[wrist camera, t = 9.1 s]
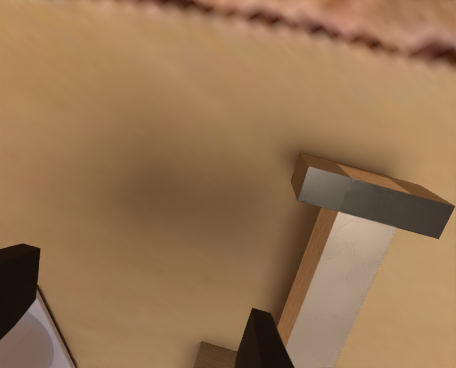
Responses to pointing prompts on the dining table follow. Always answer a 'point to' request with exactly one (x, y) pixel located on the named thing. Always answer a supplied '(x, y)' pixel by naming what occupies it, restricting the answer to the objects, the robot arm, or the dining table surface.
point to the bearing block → (215, 357)
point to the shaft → (346, 250)
